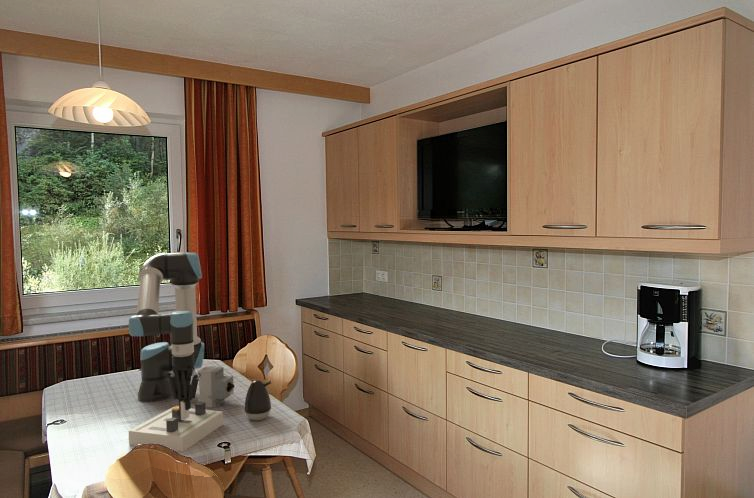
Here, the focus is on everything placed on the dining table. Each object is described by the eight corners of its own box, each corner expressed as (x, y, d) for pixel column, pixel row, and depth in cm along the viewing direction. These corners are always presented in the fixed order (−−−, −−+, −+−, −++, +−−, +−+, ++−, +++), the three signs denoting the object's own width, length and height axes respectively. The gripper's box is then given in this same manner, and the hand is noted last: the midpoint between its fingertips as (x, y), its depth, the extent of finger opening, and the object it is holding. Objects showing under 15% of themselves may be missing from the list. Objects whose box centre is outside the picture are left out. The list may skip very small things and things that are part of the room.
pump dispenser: (272, 421, 197) (270, 383, 196) (244, 424, 195) (243, 385, 194) (271, 412, 207) (270, 375, 206) (245, 414, 205) (244, 377, 204)
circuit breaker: (229, 408, 212) (228, 372, 211) (198, 406, 215) (196, 371, 214) (237, 401, 220) (236, 367, 219) (207, 400, 222) (206, 366, 222)
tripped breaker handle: (172, 420, 185) (171, 408, 185) (177, 417, 188) (177, 405, 188) (177, 421, 184) (177, 409, 184) (183, 418, 187) (182, 406, 187)
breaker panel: (129, 444, 178) (128, 419, 178) (174, 419, 201) (173, 396, 201) (182, 451, 172) (181, 425, 171) (223, 424, 195) (222, 401, 194)
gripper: (160, 355, 182) (163, 420, 184) (191, 358, 179) (194, 423, 180) (174, 350, 190) (176, 412, 191) (204, 352, 186) (206, 415, 187)
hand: (185, 418), depth 185 cm, fingers closed
